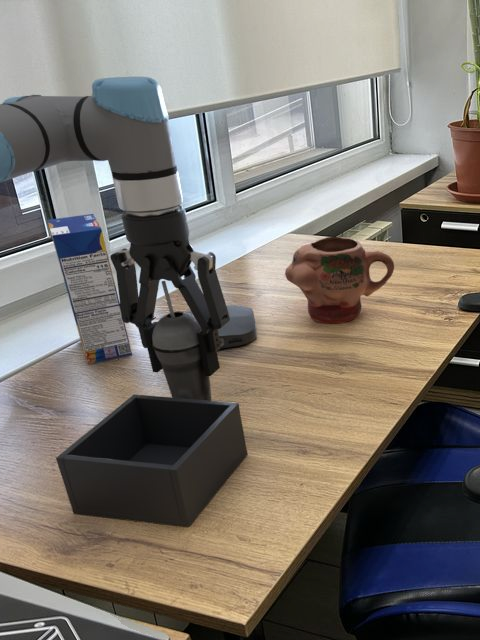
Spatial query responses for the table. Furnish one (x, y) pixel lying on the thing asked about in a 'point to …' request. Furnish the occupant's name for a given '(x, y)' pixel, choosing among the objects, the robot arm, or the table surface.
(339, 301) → the pink ceramic mug
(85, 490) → the desk bin
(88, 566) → the table surface
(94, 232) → the beverage box
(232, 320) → the media streaming box
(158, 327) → the beverage cup
